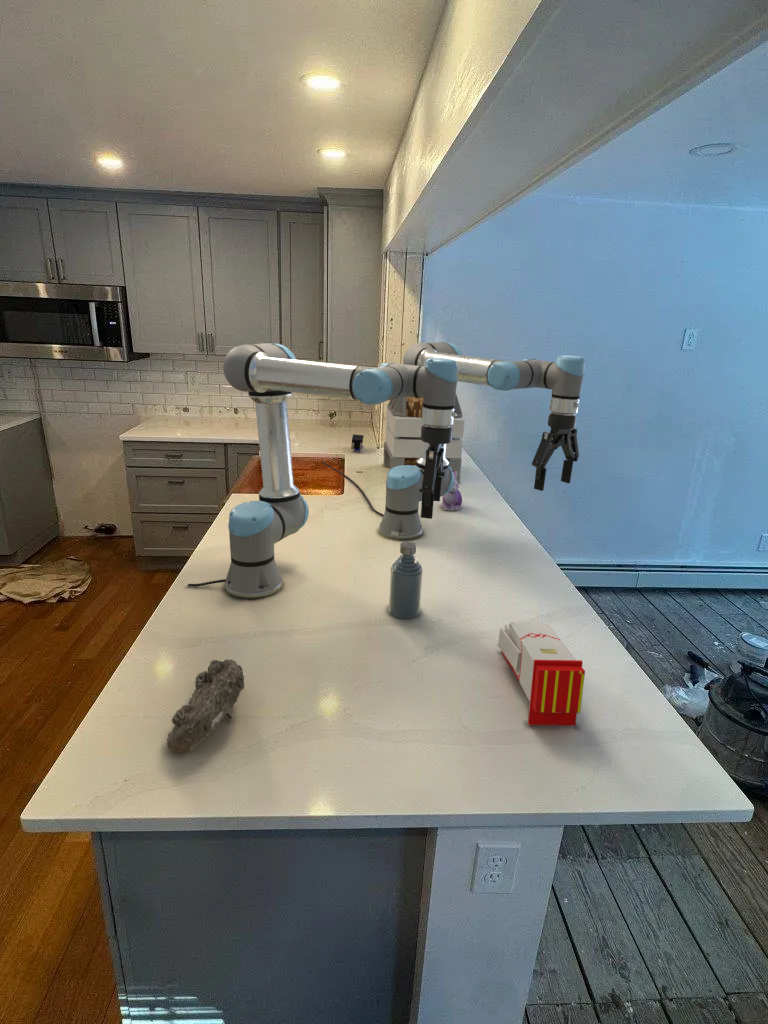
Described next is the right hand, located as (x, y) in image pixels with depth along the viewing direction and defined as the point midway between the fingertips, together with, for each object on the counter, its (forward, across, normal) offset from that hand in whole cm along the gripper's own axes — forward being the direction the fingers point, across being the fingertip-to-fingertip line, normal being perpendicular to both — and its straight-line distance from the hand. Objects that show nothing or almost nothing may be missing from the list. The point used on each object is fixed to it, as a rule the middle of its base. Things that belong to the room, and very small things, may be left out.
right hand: (552, 485), depth 166 cm
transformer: (+28, +46, +101) cm, 115 cm away
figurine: (+28, +22, +57) cm, 67 cm away
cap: (+9, -50, +8) cm, 51 cm away
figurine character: (+28, +49, +153) cm, 163 cm away
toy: (+28, -48, -32) cm, 64 cm away
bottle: (+28, -50, +8) cm, 58 cm away
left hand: (0, -44, +6) cm, 44 cm away
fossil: (+28, -107, 0) cm, 110 cm away
